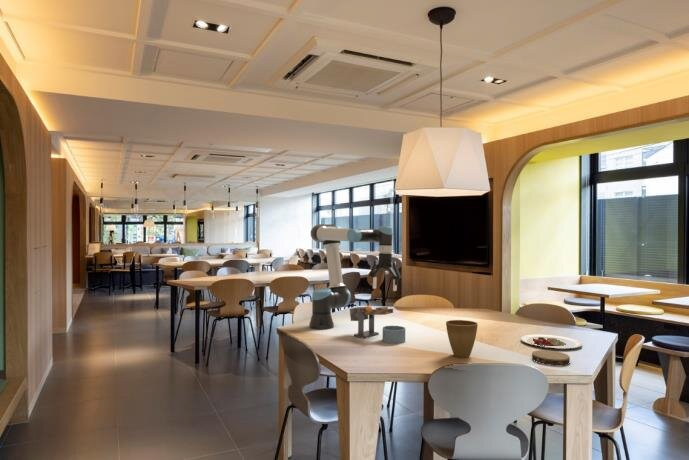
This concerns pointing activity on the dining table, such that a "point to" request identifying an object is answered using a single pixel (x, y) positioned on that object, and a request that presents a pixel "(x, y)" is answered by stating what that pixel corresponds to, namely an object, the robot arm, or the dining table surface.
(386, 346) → the dining table surface
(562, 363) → the brown round disc
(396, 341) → the cup
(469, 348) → the plant pot
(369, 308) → the ball
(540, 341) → the plated food
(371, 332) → the lever stand
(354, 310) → the lever
